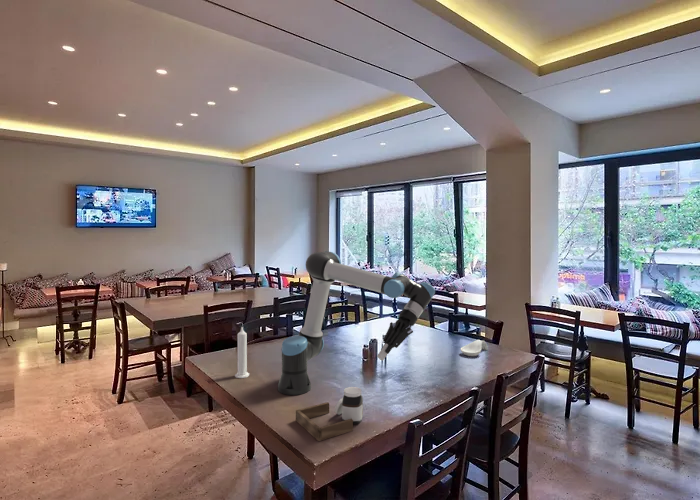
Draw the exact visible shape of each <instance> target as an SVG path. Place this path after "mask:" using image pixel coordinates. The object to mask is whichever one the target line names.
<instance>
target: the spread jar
mask: <svg viewBox="0 0 700 500" xmlns="http://www.w3.org/2000/svg"><path fill="white" fill-rule="evenodd" d="M342 396H343V397H342V398H340V399H339V400H338V402H337V403H336V405H335V407H334V413H335V414H336V415H338V416H340V415H341V419H342V421H344V420H348V419H353V425H355V424H356V425H357V424H360V423H361V422H362V420H363V413H364V408H363V407H364V406H363V405H364V399H363V395H362V389H361V388H360V387H355V386H348V387H346V388H344V389H343V395H342Z"/></svg>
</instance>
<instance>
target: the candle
mask: <svg viewBox="0 0 700 500" xmlns="http://www.w3.org/2000/svg"><path fill="white" fill-rule="evenodd" d="M236 335H237V338H236V339H237V373H235V374H234V377H235V378H237V379H245V378H248V377H250V372H248V367H247V366H248V359H247V358H248V356H247V355H248V344H247V343H248V341H247V338H248V336H247V332H246V331H245V330H244V328H243V326H241V328H240V331H239V332H238V333H237V334H236Z"/></svg>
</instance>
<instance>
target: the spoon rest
mask: <svg viewBox="0 0 700 500" xmlns="http://www.w3.org/2000/svg"><path fill="white" fill-rule="evenodd" d="M488 347H489V346H488V344H487V342H486V341H485V340H480V339H476V340H474V341H472V342H470V343H467V344H466V345H464V346H462V347H460V351H461V353H462V355H464V356H467V357H472V358H473V357H476V356H478V355H480V353H481V352H482V350H484V351H488V350H489V349H488Z"/></svg>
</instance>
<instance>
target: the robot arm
mask: <svg viewBox="0 0 700 500" xmlns="http://www.w3.org/2000/svg"><path fill="white" fill-rule="evenodd" d="M305 269H306V272H307V273H308V274H309V276H310V277H311V278H312V281H313V282H312V285H311V290H310V296H309V300H308V306H307V310H306V315H305V320H304V325H303V327H301V328H300V329H299V333H298V335H293V336H289V337H286V338H285V339H284V340H283V341H282V342H281V374H280V377H279V381H278V382H277V383H278V384H277V391H278V392H279V393H280V394H283V395H288V396H296V395H303V394H306V393H308V392H309V391H310V390H311V389H312V386H311V380H310V379H311V378H310V376H309V374H308V361H310V360H312V359H314V358H315V357H317V356H318V355H319V354H321V352H322V351H323V350H324V346H325V340H324V338H323V336H324V333H323V331H322V326H323V322H324V317H325V311H326V308H327V304H328V298H329V294H330V289H331V288H330V287H331V285H332V284H333V283H335V281H338V282H341V283H345V284H348V285H351V286H356V287H359V288H362V289H366V290H369V291H374V292H375V293H376V292H377V293H380V294H383V295H386V296H387V298H390V299H397V298H400V297H401V296H403V295H404V296H405V297H407V298H408V299H409V300H408V301H407V303H406V304H405V305H404V307H403V309H402V310H401V311H400V313H399V315H398V317H399V318H398V319H397V320H395V322H392V321H391V322H390V323H389V327H388V329H387V331H386V333H385V335H384V337H383V339H382V341H383V343H384V345H382V347H381V349H380V350H379V352H378V354H377V356H376V357H377V358H378V359H379V360H380V361H383V362H384V360H385V358H386V357H387V356H388V354H390V353H391V350H393V349H394V348H395V349H397V348H398V347H399V346H400V345H401V344H402V343H403V342H404V341H405V340H406V339H407V338H408V336H409V335H412V333H414V331H413V329H412V327H413V326H414V325H415V324H416V323H417V321H418V319H420V316H421V315H422V314H423V312H424V311H425V309H426V308H427V307H428V305H429V304H430V302H431V301H432V299H433V297H434V296H435V294H436V289H435V287H434V286H433V285H431V283H428V282H425V281H424V282H421V283H420V284H419V283H418V282H416V281H414V280H412V279H411V278H409V277H408V276H406V275H405V274H403V273H402V272H399V271H396V272H395V273H393V274H392V276H387V275H384V274H380V273H376V272H373V271H369V270H366V269H362V268H358V267H354V266H351V265H350V266H349V265H347V264H343V263H342V261H341V258H340V256H339V255H338V254H337V253H335V252H333V251H327V250H326V251H319V252H318V251H317V252H314V253H311V254H309V256H308V257H307V258H306V260H305Z"/></svg>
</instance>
